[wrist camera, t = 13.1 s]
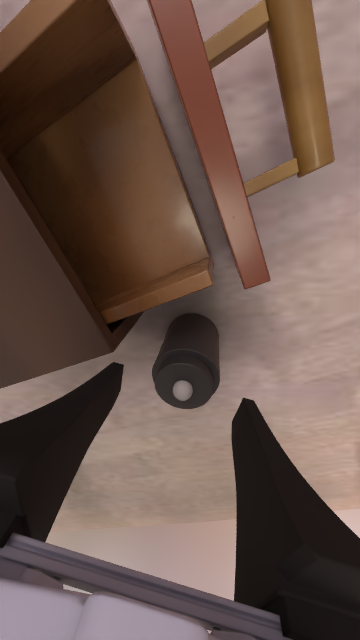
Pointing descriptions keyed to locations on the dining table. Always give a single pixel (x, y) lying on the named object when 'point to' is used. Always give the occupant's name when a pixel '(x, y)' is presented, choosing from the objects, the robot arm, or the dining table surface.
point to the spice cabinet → (43, 296)
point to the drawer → (146, 141)
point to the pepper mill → (188, 362)
